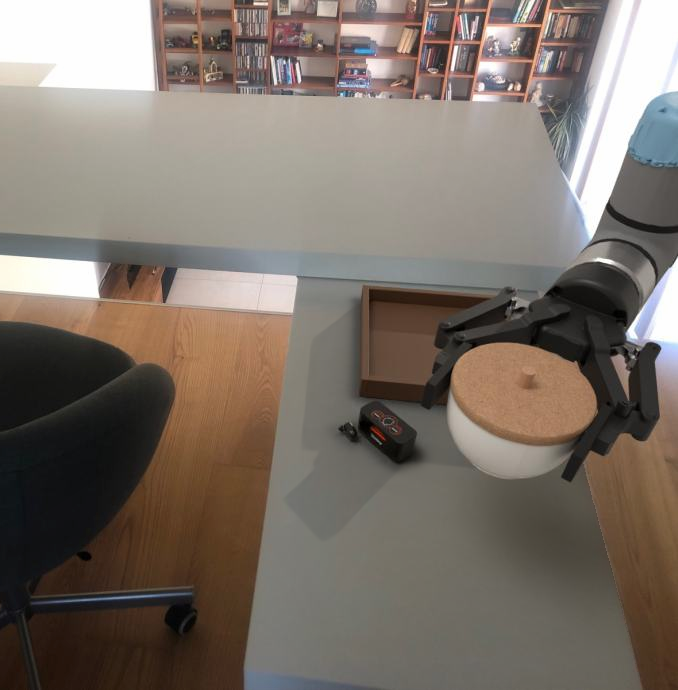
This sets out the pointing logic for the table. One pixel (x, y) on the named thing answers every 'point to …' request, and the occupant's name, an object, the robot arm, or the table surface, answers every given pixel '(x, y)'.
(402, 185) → the table surface
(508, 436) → the trinket box
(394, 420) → the wireless earbuds
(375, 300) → the tray
